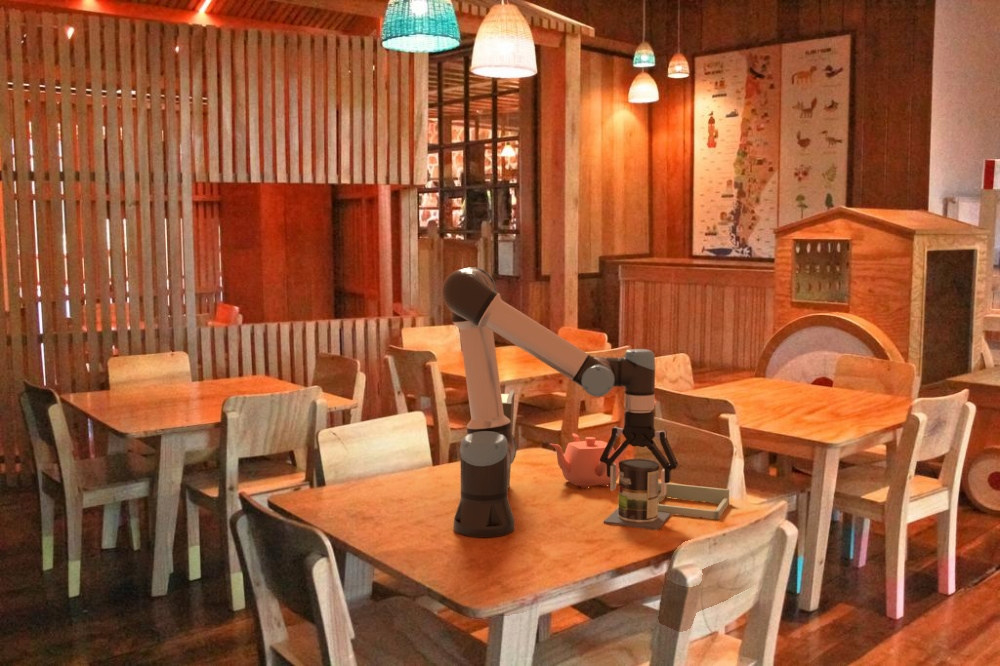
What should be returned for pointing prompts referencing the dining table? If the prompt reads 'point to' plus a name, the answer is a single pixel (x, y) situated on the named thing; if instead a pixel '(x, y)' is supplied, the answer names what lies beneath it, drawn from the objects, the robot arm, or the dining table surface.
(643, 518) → the coffee can
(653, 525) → the mat
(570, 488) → the dining table surface
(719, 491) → the rack
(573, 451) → the teapot
